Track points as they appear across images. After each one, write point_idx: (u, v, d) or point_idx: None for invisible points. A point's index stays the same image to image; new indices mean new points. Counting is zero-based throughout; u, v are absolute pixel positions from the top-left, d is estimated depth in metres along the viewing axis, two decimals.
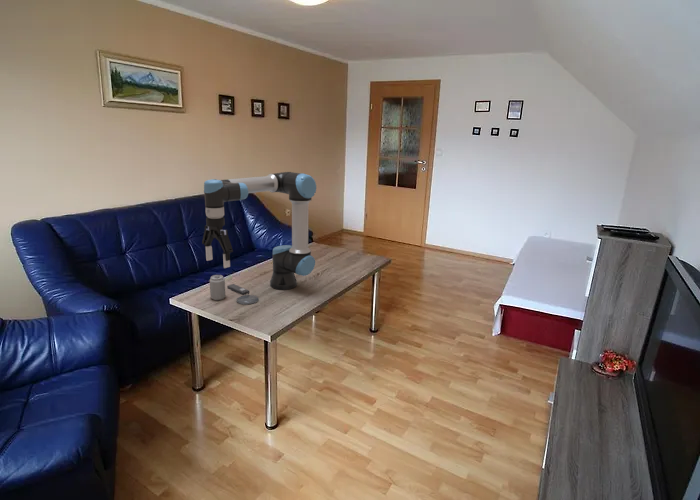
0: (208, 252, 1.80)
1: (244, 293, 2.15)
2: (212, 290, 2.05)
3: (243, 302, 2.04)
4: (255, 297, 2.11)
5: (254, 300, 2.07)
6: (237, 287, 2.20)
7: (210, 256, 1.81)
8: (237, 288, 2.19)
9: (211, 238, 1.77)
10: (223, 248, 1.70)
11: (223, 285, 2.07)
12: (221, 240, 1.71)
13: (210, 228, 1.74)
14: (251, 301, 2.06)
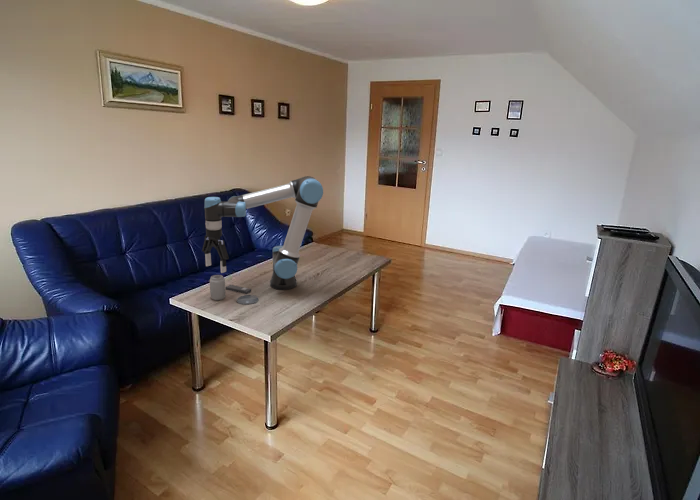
0: (207, 259, 2.07)
1: (247, 292, 2.17)
2: (212, 290, 2.05)
3: (243, 302, 2.04)
4: (255, 297, 2.11)
5: (254, 300, 2.07)
6: (237, 287, 2.20)
7: (209, 262, 2.09)
8: (238, 288, 2.19)
9: (210, 247, 2.04)
10: (220, 256, 1.97)
11: (223, 285, 2.07)
12: (219, 249, 1.98)
13: (209, 238, 2.01)
14: (251, 301, 2.06)
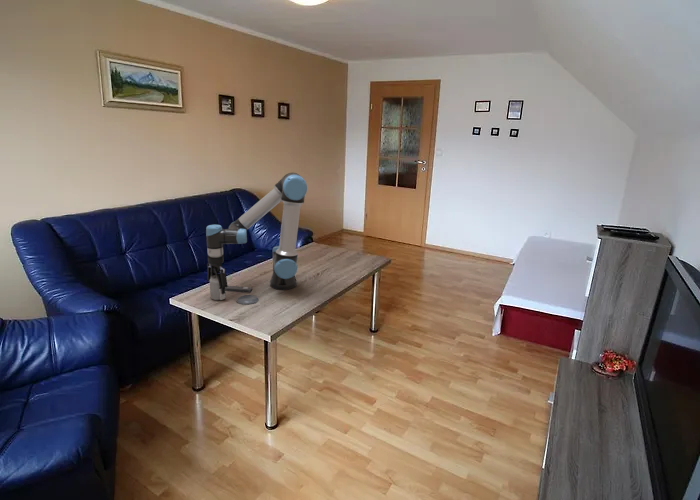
0: None
1: (250, 290, 2.18)
2: (212, 290, 2.05)
3: (243, 302, 2.04)
4: (255, 297, 2.11)
5: (254, 300, 2.07)
6: (237, 287, 2.20)
7: None
8: (238, 288, 2.19)
9: (213, 274, 2.08)
10: (220, 283, 2.03)
11: None
12: (219, 276, 2.03)
13: (211, 264, 2.05)
14: (251, 301, 2.06)
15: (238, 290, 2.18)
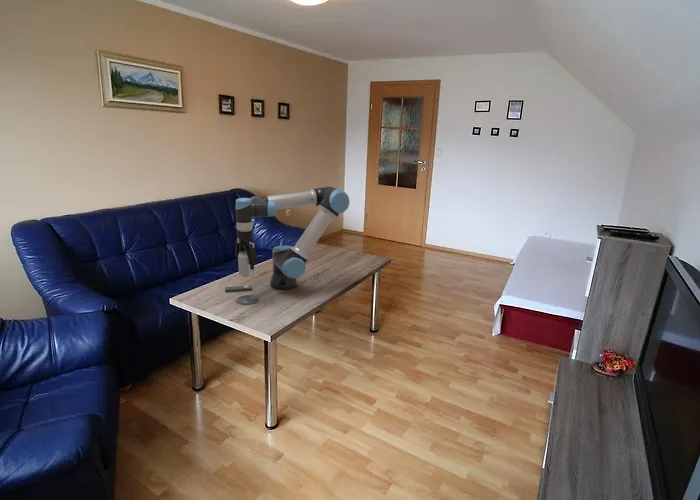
0: None
1: (251, 288, 2.21)
2: (241, 266, 2.00)
3: (243, 302, 2.04)
4: (255, 297, 2.11)
5: (254, 300, 2.07)
6: (236, 287, 2.20)
7: None
8: (239, 288, 2.20)
9: (242, 250, 2.02)
10: (249, 259, 1.98)
11: None
12: (248, 251, 1.98)
13: (240, 239, 2.00)
14: (251, 301, 2.06)
15: (240, 290, 2.19)
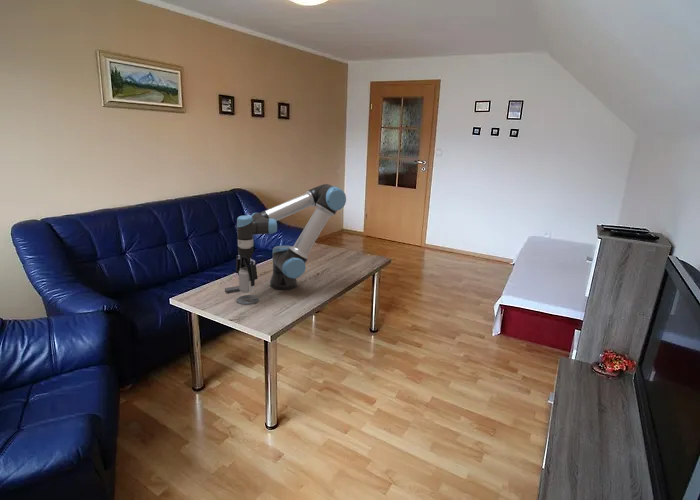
0: None
1: None
2: (241, 282, 2.02)
3: (243, 302, 2.04)
4: (255, 297, 2.11)
5: (254, 300, 2.07)
6: (236, 287, 2.20)
7: None
8: None
9: (243, 266, 2.05)
10: (250, 275, 2.00)
11: None
12: (249, 268, 2.01)
13: (240, 256, 2.02)
14: (251, 301, 2.06)
15: None
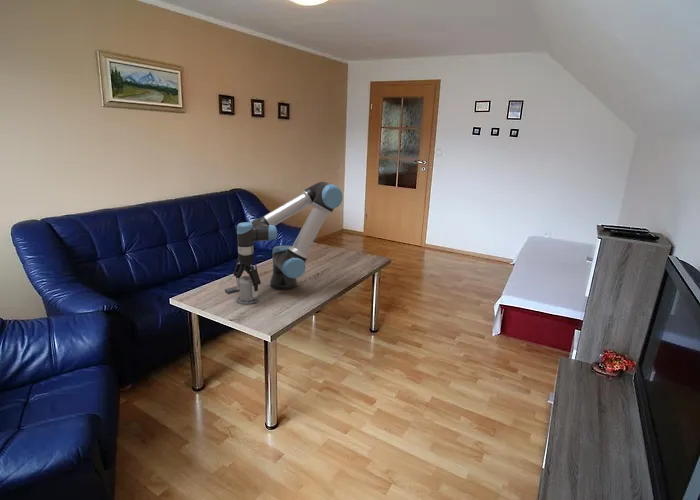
0: (238, 283, 2.10)
1: None
2: (242, 291, 2.04)
3: (243, 302, 2.04)
4: (255, 297, 2.11)
5: (254, 300, 2.07)
6: (236, 287, 2.20)
7: None
8: None
9: (242, 271, 2.07)
10: (252, 280, 2.00)
11: None
12: (251, 273, 2.01)
13: (241, 263, 2.03)
14: (251, 301, 2.06)
15: None
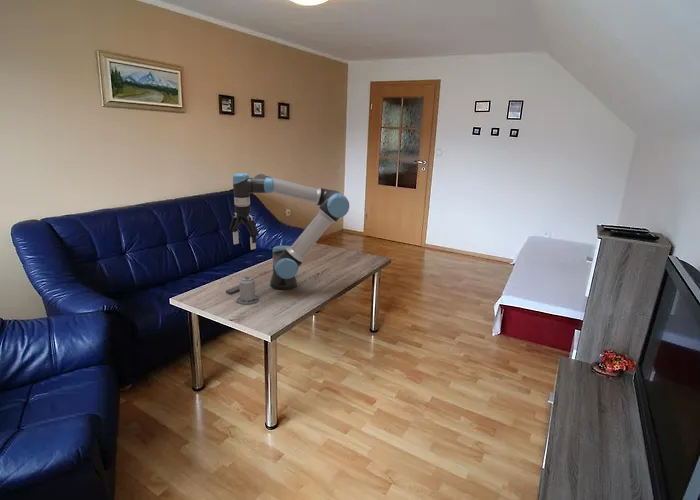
0: (235, 237, 2.07)
1: None
2: (242, 291, 2.04)
3: (243, 302, 2.04)
4: (255, 297, 2.11)
5: (254, 300, 2.07)
6: (236, 287, 2.20)
7: (237, 240, 2.08)
8: (239, 287, 2.21)
9: (238, 224, 2.04)
10: (250, 232, 1.97)
11: (253, 286, 2.05)
12: (248, 225, 1.98)
13: (238, 215, 2.01)
14: (251, 301, 2.06)
15: None
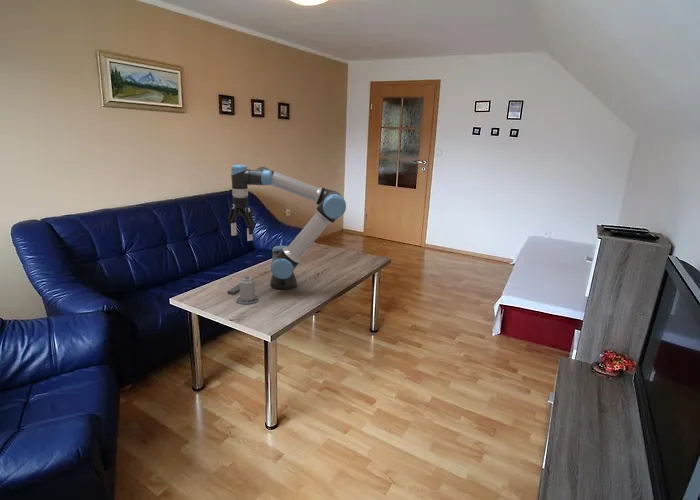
0: (233, 228, 2.08)
1: None
2: (242, 291, 2.04)
3: (243, 302, 2.04)
4: (255, 297, 2.11)
5: (254, 300, 2.07)
6: (236, 287, 2.20)
7: (235, 232, 2.09)
8: (239, 287, 2.21)
9: (236, 216, 2.05)
10: (247, 223, 1.98)
11: (253, 286, 2.05)
12: (245, 217, 1.99)
13: (235, 207, 2.02)
14: (251, 301, 2.06)
15: None
